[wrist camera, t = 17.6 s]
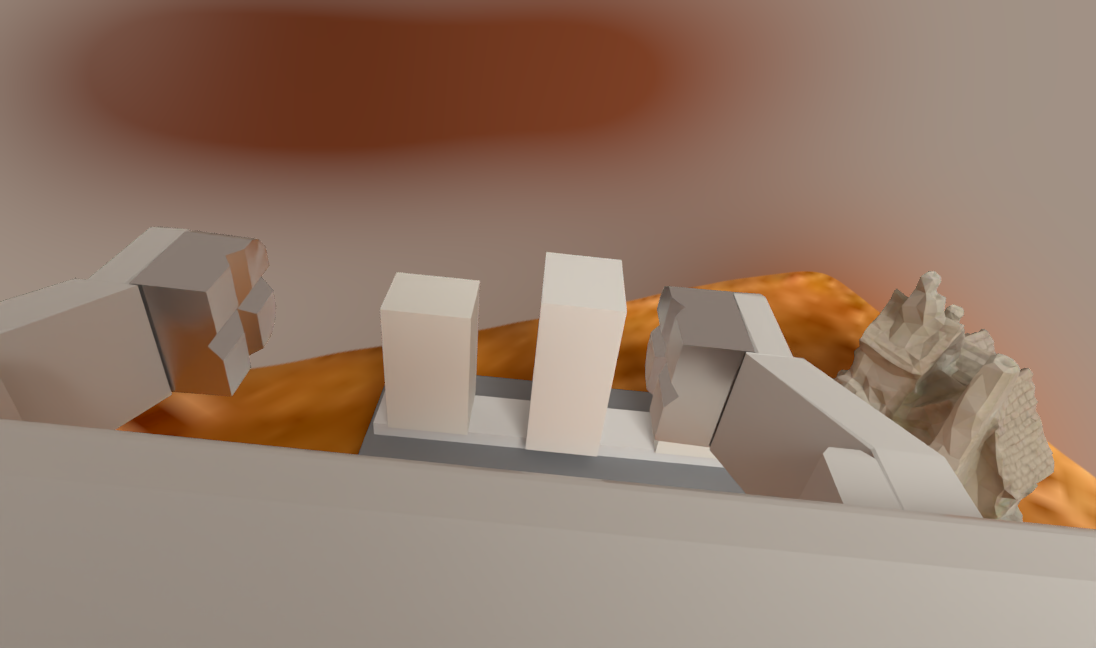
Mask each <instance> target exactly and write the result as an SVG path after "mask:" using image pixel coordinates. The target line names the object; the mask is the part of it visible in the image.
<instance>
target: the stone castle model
mask: <svg viewBox="0 0 1096 648" xmlns="http://www.w3.org/2000/svg"><path fill="white" fill-rule="evenodd" d="M940 283H941V276H940V275H938V274H937V273H936V272H935V271H928V272H927V273H925V274H924V275H922V276H921V277H920V280H919V282H918V284H917V286H916V289H915V290H914V291H913V293H912V294H911V295H910V297H907V296H905V295H904V294H903V293H902V292H900V291H899V290H898V289H896V290H895V291H894V293H893V295H892V297H891V299H890V301H889V302H888V304H887V305H886V306H885V308H884V309H883V310H882V312H881V313H880V315H879V316H878V317H877V318H876V319H875V320H874V321H873V322H872V323H871V324H870V325H869V326H868V328H867V329H866V330H865V332H864V334H863V336H862V338H860V339H859V343H860V347H859V348H857V349H856V350H855V351H854V356H855V357H854V361H853V364H852V366H851V368H850V369H849V371H848V370H841V371H839V372H838V374H837V377H836V378H833V380H835V381H836V382H838V383H839V384H841V385H842V386H843V387H845V388H846V389H848V390H849V391H851V392H852V393H853V394H855V395H856V396H858V397H859V398H861V399H862V400H864V401H865V402H866V403H868V404H869V405H871V406H872V407H874V408H875V409H876V410H878V411H879V412H881V413H882V414H884V415H885V416H886V417H888V418H889V419H891V420H892V421H894V422H895V423H896V424H898V425H899V426H901V427H902V428H904V429H905V430H906V431H908V432H909V433H911V434H912V435H914V436H915V437H916V438H918V439H919V440H921V441H922V442H924V443H925V444H926V445H928V446H929V447H931V448H932V449H934V450H935V451H936V452H938V453H939V454H941V455H942V456H944V457H945V458H946V460H947V461H948V463H949V465H950V466H951V468H952V469H953V471H954V473H955V474H956V476H957V477H958V479H959V480H960V482H961V484H962V485H963V487H964V488H965V490H966V492H967V493H968V495H969V496H970V498H971V499H972V501H973V503H974V504H975V506H976V507H977V509H978V510H979V512H980V514H981V515H982V517H983V518H988V519H998V520H1008V521H1018V522H1023V520H1022V514H1021V512H1020V510H1019V508H1018V504H1019V502H1020V500H1021V499H1023V498H1024V497H1026V496H1027V495H1029V494H1030V493H1032V492H1033V491H1034V489H1035V488H1036V487H1037V486H1038V485H1037V484H1036V483H1038V482H1040V481H1042V480H1043V479H1045V478H1046V477H1047V476H1049V475H1050V474H1051V473H1053V472H1054V460H1053V457H1052V454H1053V453H1052V451H1051V449H1050V448H1049V445H1048V443H1047V440H1046V438H1045V436H1044V433H1043V426H1042V422H1041V419H1040V417H1039V415H1038V414H1037V412H1036V404H1037V402H1038V401H1037V400H1036V398H1035V396H1034V394H1035V385H1034V383H1033V382H1032V376H1033V373H1032V371H1031V370H1030V369H1029V368H1024V369H1021V370H1020V368H1019V365H1018V364H1017V363H1016V362H1015V361H1014V360H1013V359H1012V358H1009V357H1008V356H1006V355H1003V354H996V353H995V349H994V341H993V339H992V337H991V336H990V333H989V332H988V331H987V330H985V329H981V330H980V331H979V332H975V333H972V334H968V333H966V334H964V332H965V330H964V329H963V328H964V325H962V324H960V323H959V321H960V318H961V317H962V316H964V309H963V308H962V307H959V306H956V305H954V304H953V305H951V306H949V307H947V308H946V310H945V302H946V298H945V297H944V296H942V295H940V294H939V293H937V291H936V289H937V288H938V286H939V284H940ZM944 310H945V311H944Z"/></svg>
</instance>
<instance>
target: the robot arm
mask: <svg viewBox="0 0 1096 648" xmlns="http://www.w3.org/2000/svg"><path fill="white" fill-rule="evenodd" d="M268 267H269V261H268V256H267V251H266V247H265V245H264V244H263V243H262V242H261V241H260V240H259V239H254V238H247V237H239V236H232V235H224V234H217V233H209V232H202V231H191V230H189V229H180V228H169V227H150V228H149V229H148V230H146V231H145V232H144V233H143V234H141V235H140V236H139V237H138V238H137V239H135V240H134V241H133V242H132V243H131V244H129V245H128V246H127V247H126V248H125V249H123V250H122V251H121V252H120V253H118V254H117V255H116V256H115V257H114V258H112V259H111V260H110V261H109V262H108V263H106V264H105V265H104V266H103V267H102V268H100V269H99V270H98V271H97V272H95V273H94V274H93V275H92V276H91V277H89V278H88V279H87V280H86V279H76V278H75V279H72V280H69V281H65V282H62V283H59V284H55V285H52V286H49V287H46V288H42V289H39V290H36V291H33V292H29V293H26V294H23V295H20V296H16V297H13V298H10V299H6V300H3V301H0V648H1096V529H1087V528H1077V527H1067V526H1057V525H1047V524H1037V523H1027V522H1018V521H1008V520H998V519H988V518H983V517H982V515H981V514H980V512H979V510H978V509H977V507H976V506H975V504H974V503H973V501H972V499H971V498H970V496H969V495H968V493H967V492H966V490H965V488H964V487H963V485H962V484H961V482H960V480H959V479H958V477H957V476H956V474H955V473H954V471H953V469H952V468H951V466H950V465H949V463H948V461H947V460H946V458H945V457H944V456H942V455H941V454H939V453H938V452H936V451H935V450H934V449H932V448H931V447H929V446H928V445H926V444H925V443H924V442H922V441H921V440H919V439H918V438H916V437H915V436H914V435H912V434H911V433H909V432H908V431H906V430H905V429H904V428H902V427H901V426H899V425H898V424H896V423H895V422H894V421H892V420H891V419H889V418H888V417H886V416H885V415H884V414H882V413H881V412H879V411H878V410H876V409H875V408H874V407H872V406H871V405H869V404H868V403H866V402H865V401H864V400H862V399H861V398H859V397H858V396H856V395H855V394H853V393H852V392H851V391H849V390H848V389H846V388H845V387H843V386H842V385H841V384H839V383H838V382H836V381H835V380H833V379H832V378H831V377H829V376H828V375H826V374H825V373H823V372H822V371H821V370H819V369H818V368H816V367H815V366H813V365H812V364H811V363H809V362H808V361H806V360H805V359H803V358H796V357H793V355H792V353H791V351H790V349H789V347H788V345H787V342H786V340H785V338H784V336H783V334H782V332H781V330H780V327H779V325H778V323H777V321H776V319H775V317H774V315H773V312H772V310H771V308H770V306H769V304H768V302H767V300H766V298H765V297H764V296H763V295H761V294H753V293H739V292H728V291H717V290H706V289H694V288H683V287H672V286H665V287H664V289H663V291H662V294H661V296H660V300H659V304H658V307H657V311H658V317H659V323H660V325H659V326H658V327H657V328H656V329H654V330H653V331H652V332H651V335H650V339H649V343H648V348H647V354H646V363H645V379H646V387H647V390H648V391H649V392H650V393H651V394H652V395H653V398H652V402H651V405H650V416H651V422H652V429H653V435H654V440H656V441H664V442H671V443H679V444H687V445H694V446H702V447H710V449H709V450H710V451H711V453H712V454H713V455H714V456H715V457H716V458H717V460H718V461H719V462H720V463H721V464H722V466H723V467H724V468H725V469H726V470H727V472H728V473H729V474H730V475H731V476H732V478H733V479H734V480H735V481H736V482H737V484H738V485H739V486H740V487H741V488H742V489H743V491H744V492H745V493H746V494H741V493H731V492H721V491H712V490H702V489H692V488H682V487H672V486H662V485H652V484H642V483H632V482H622V481H612V480H602V479H593V478H583V477H573V476H563V475H553V474H543V473H533V472H523V471H513V470H503V469H493V468H484V467H474V466H464V465H454V464H444V463H434V462H424V461H414V460H405V459H395V458H385V457H375V456H365V455H355V454H345V453H336V452H326V451H316V450H306V449H296V448H286V447H276V446H266V445H257V444H247V443H237V442H227V441H217V440H207V439H197V438H188V437H178V436H168V435H158V434H148V433H138V432H128V431H119V430H115V429H117V428H119V427H120V426H122V425H123V424H125V423H127V422H128V421H130V420H132V419H133V418H135V417H136V416H138V415H140V414H141V413H143V412H144V411H146V410H148V409H149V408H151V407H153V406H154V405H156V404H157V403H159V402H161V401H162V400H164V399H165V398H167V397H169V396H170V395H172V392H182V393H195V394H208V395H221V396H232V395H233V394H234V392H235V391H236V389H237V388H238V386H239V385H240V383H241V382H242V380H243V379H244V377H245V376H246V374H247V373H248V371H249V370H250V368H251V363H250V358H249V355H251V354H253V353H255V352H257V351H259V350H261V349H263V348H264V346H265V345H266V343H267V342H268V340H269V338H270V337H271V334H272V330H273V326H274V322H275V318H276V317H275V316H276V315H275V314H276V302H275V296H274V290H273V289H272V288H271V287H270V286H269V285H268V284H267V282H266V281H265V280H264V279H263V278H262V275H263V274H264V272H265V271H266V270H267V268H268Z"/></svg>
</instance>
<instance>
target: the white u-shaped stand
mask: <svg viewBox="0 0 1096 648" xmlns="http://www.w3.org/2000/svg"><path fill="white" fill-rule="evenodd" d="M479 293H480V281H478V280H477V281H476V280H468V279H458V278H448V277H438V276H429V275H419V274H409V273H399V272H397V273H396V275H395V277H394V280H393V282H392V284H391V286H390V288H389V291H388V293H387V295H386V297H385V299H384V301H383V304H382V306H381V308H380V317H381V333H382V348H383V362H384V377H385V386H384V388H383V391H382V393H381V396H380V399H379V401H378V404H377V407H376V409H375V412H374V415H373V417H372V420H371V422H370V425H369V428H368V430H367V433H366V436H365V438H364V441H363V444H362V446H361V449H360V451H359V454H358V455H365V456H375V457H385V458H395V459H405V460H414V461H424V462H434V463H444V464H454V465H464V466H474V467H484V468H493V469H503V470H513V471H523V472H533V473H543V474H553V475H563V476H573V477H583V478H593V479H602V480H612V481H622V482H632V483H642V484H652V485H662V486H672V487H682V488H692V489H702V490H712V491H721V492H731V493H741V494H746V493H745V492H744V491H743V489H742V488H741V487H740V486H739V485H738V484H737V482H736V481H735V480H734V479H733V478H732V476H731V475H730V474H729V473H728V472H727V470H726V469H725V468H724V467H723V466H722V464H721V463H720V462H719V461H718V460H717V458H716V457H715V456H714V455H713V454H712V453H711V451H710V450H709V449H710V447H702V446H694V445H687V444H679V443H671V442H664V441H656V440H654V435H653V429H652V422H651V416H650V405H651V402H652V398H653V395H652V394H651V393H650V392H641V391H630V390H620V389H611V392H610V397H609V401H608V406H607V411H606V416H605V421H604V426H603V431H602V436H601V440H600V445H599V450H598V455H597V457H596V456H586V455H576V454H566V453H556V452H547V451H537V450H527V449H526V440H527V430H528V420H529V410H530V400H531V390H532V381H529V380H518V379H508V378H498V377H488V376H478V375H476V369H477V344H478V317H479Z"/></svg>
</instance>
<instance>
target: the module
mask: <svg viewBox="0 0 1096 648" xmlns="http://www.w3.org/2000/svg"><path fill="white" fill-rule="evenodd" d="M626 313H627V309H626V299H625V289H624V279H623V270H622V261H621V260H615V259H605V258H596V257H587V256H577V255H568V254H559V253H550V252H547V253H546V261H545V269H544V280H543V289H542V297H541V306H540V316H539V325H538V334H537V343H536V353H535V362H534V371H533V380H532V390H531V400H530V410H529V420H528V430H527V440H526V449H527V450H537V451H547V452H556V453H566V454H576V455H586V456H596V457H597V455H598V450H599V445H600V440H601V436H602V431H603V426H604V421H605V416H606V411H607V406H608V401H609V397H610V392H611V387H612V382H613V377H614V372H615V367H616V362H617V357H618V353H619V348H620V343H621V338H622V333H623V328H624V323H625V318H626Z"/></svg>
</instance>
